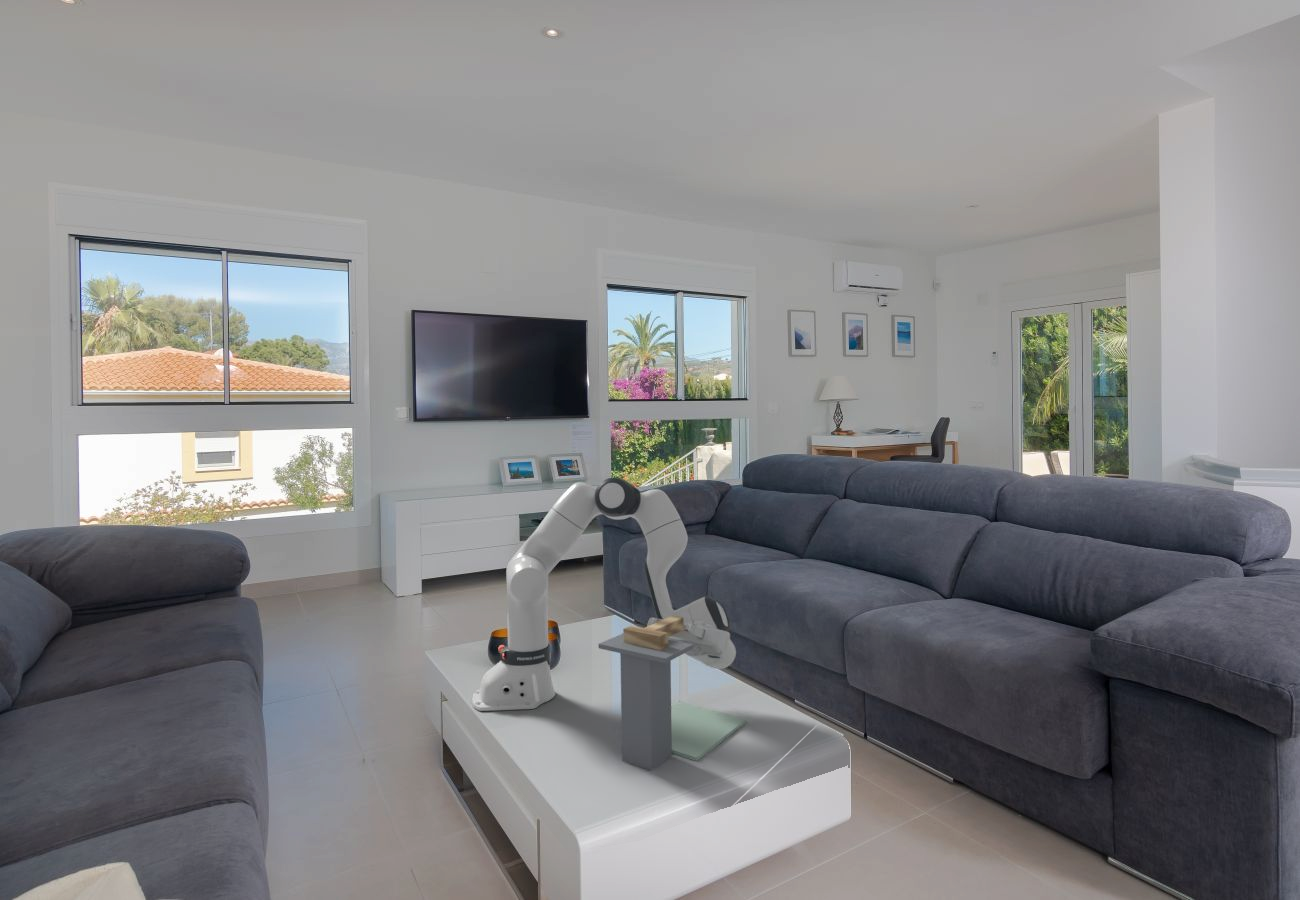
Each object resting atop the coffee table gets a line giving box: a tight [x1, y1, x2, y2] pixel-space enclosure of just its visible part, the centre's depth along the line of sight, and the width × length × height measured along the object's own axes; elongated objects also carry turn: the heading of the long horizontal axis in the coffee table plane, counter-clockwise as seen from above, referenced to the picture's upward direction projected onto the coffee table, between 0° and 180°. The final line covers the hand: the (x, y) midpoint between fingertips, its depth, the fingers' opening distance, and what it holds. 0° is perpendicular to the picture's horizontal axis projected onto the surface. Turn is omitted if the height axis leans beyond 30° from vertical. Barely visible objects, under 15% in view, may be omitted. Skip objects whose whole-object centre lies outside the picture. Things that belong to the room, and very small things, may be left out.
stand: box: [598, 633, 693, 771], centre depth 158 cm, size 11×18×26 cm, turn 55°
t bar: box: [622, 616, 684, 650], centre depth 162 cm, size 15×10×3 cm, turn 145°
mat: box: [671, 701, 748, 762], centre depth 172 cm, size 24×20×1 cm
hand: (670, 624), depth 165 cm, fingers open, 8 cm apart
